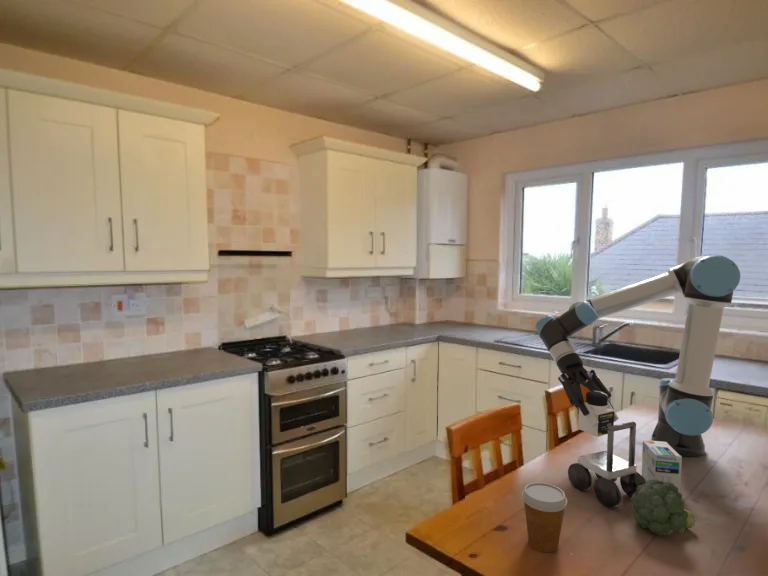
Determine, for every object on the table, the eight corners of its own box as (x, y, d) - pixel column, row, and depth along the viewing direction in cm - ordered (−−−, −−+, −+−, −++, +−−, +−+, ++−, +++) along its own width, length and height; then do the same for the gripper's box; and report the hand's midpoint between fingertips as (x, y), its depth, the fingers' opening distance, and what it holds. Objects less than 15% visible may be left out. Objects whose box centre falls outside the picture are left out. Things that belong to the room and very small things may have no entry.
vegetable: (722, 540, 100) (668, 516, 98) (673, 555, 108) (623, 534, 106) (702, 486, 110) (652, 463, 107) (658, 504, 118) (612, 484, 115)
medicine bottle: (597, 437, 135) (599, 397, 134) (577, 429, 142) (578, 391, 141) (613, 432, 139) (615, 394, 138) (593, 425, 145) (594, 387, 144)
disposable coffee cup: (514, 531, 107) (515, 482, 106) (554, 529, 108) (555, 480, 107) (531, 558, 97) (532, 504, 97) (574, 556, 98) (575, 502, 97)
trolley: (596, 476, 134) (599, 406, 132) (647, 503, 119) (650, 425, 118) (567, 483, 129) (569, 412, 128) (615, 512, 115) (618, 432, 113)
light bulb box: (681, 495, 123) (683, 456, 122) (653, 493, 124) (655, 454, 124) (665, 476, 133) (667, 440, 133) (640, 474, 135) (641, 439, 134)
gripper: (583, 361, 157) (622, 423, 143) (535, 367, 149) (572, 433, 135) (596, 349, 152) (638, 412, 138) (547, 354, 144) (587, 421, 130)
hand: (605, 422), depth 137 cm, fingers closed on medicine bottle, 7 cm apart
